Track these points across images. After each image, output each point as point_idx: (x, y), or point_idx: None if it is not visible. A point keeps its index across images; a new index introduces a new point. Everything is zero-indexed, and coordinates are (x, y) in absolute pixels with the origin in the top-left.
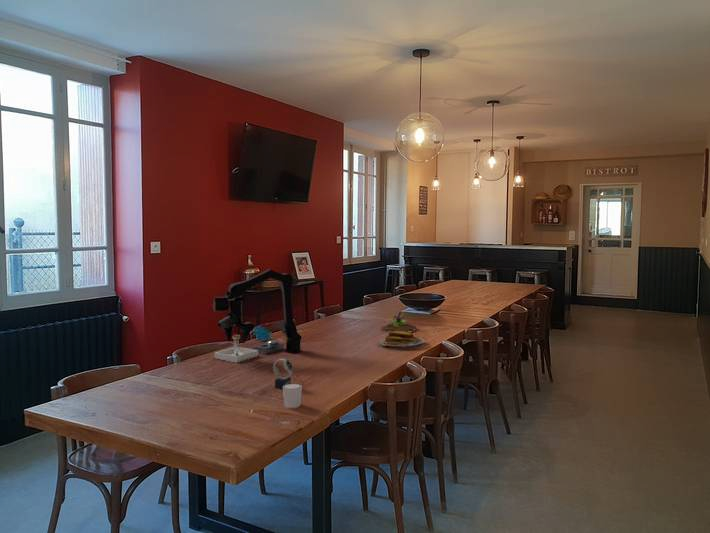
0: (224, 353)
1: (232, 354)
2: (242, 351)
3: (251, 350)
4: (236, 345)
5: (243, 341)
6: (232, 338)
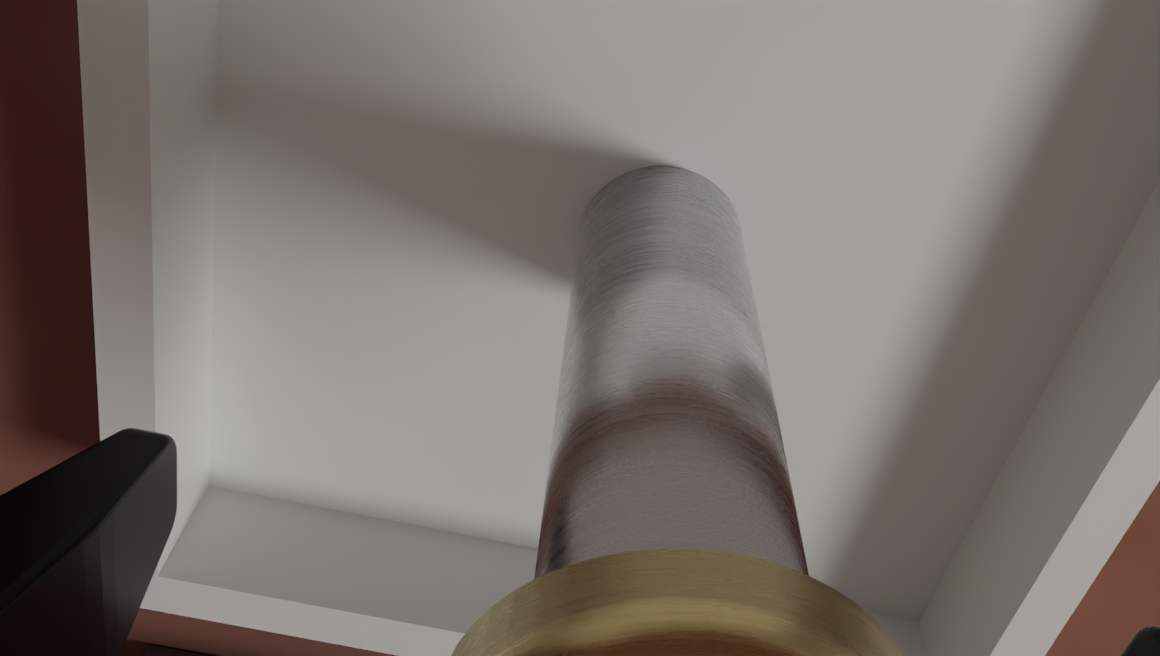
0: (1143, 263)
1: (876, 353)
2: None
3: (338, 590)
4: (596, 394)
5: (38, 496)
6: (840, 621)
